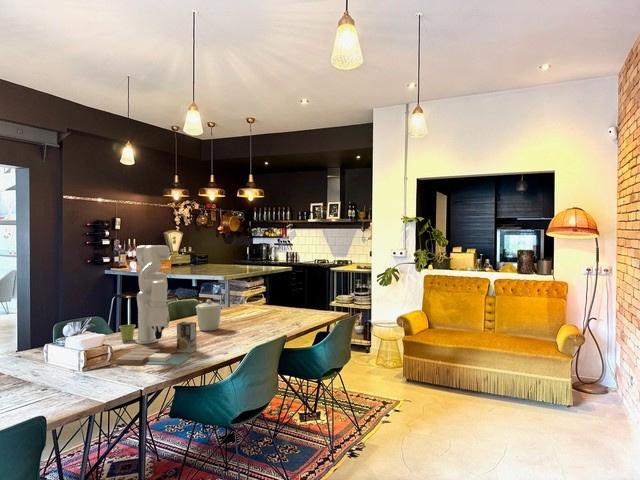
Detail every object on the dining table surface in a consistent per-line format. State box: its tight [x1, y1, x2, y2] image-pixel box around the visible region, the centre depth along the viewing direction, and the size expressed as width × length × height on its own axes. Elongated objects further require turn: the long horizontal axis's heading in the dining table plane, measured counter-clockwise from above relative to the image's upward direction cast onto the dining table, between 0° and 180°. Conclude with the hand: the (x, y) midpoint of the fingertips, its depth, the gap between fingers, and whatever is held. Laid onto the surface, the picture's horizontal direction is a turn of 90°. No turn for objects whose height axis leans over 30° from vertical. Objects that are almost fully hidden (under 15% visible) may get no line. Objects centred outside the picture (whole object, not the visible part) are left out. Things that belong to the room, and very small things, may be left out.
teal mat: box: [144, 353, 193, 367], centre depth 231 cm, size 18×18×1 cm
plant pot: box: [118, 324, 136, 342], centre depth 274 cm, size 9×9×9 cm
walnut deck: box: [115, 348, 161, 366], centre depth 232 cm, size 20×14×2 cm
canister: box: [195, 299, 223, 332], centre depth 305 cm, size 18×18×21 cm
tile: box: [148, 352, 171, 361], centre depth 231 cm, size 7×9×2 cm
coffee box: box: [176, 321, 197, 354], centre depth 248 cm, size 9×6×16 cm
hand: (158, 338), depth 232 cm, fingers closed
